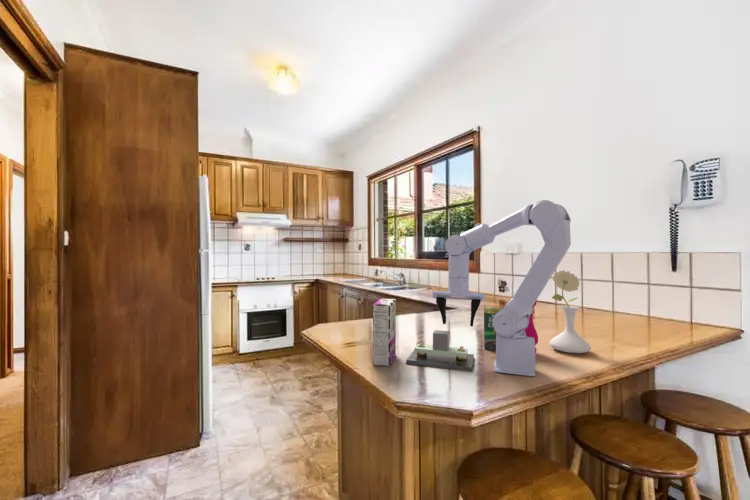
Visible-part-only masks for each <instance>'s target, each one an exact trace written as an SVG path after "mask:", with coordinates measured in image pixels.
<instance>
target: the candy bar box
mask: <svg viewBox="0 0 750 500" xmlns="http://www.w3.org/2000/svg"><path fill="white" fill-rule="evenodd" d="M396 303H397V299H396V298H380V299H378V300H377V301H375V303H373V304H372V365H373V366H375V365H376V367H391V365H392V363H393V361H394V358H395V357H396V355H397V353H396V351H397V348H396V347H397V346H396V345H397V342H396V341H397V339H396V338H397V331H396V330H397V328H396V326H397V324H396V323H397V312H396V311H397V307H396V306H397V304H396Z"/></svg>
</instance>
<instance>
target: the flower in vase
mask: <svg viewBox="0 0 750 500" xmlns="http://www.w3.org/2000/svg"><path fill="white" fill-rule="evenodd" d="M552 277H553V278H552V281H553V282H554V284H555V285H556V286H557V287H558V288H559V289H560V290H561V294H559V293H555V294H554V295H553V296H552V297H551V299H553V300H556V301H558V302H562V301H564V302H565V304H566V305H561V306H560V307H561V309H562V311H563V312H564V316H565V328H564V330H563V331H562V332H561V333H559V334H557V335H556V336H554V337H553V338H552V339H550V341H549V345H550V347H551V348H553V349H555V350H557V351H560V352H564V353H570V354H571V353H572V354H585V353H588V352H590V351H591V350H592V347H591V345H590V344H589V343H588V342H587V341H586V339H585V338H583V337H582V336H581V335H579V333H578V332H576V330H575V318H576V313H577V312H578V311H579V309H580V307H579V306H577V305H569V304H568V303H570V302H572V301H575V300H577V299H579V296H577V297H574V298H570V300H568V301H567V300H566V298H565V295H564V291H565V292H568V293H569V292H570V293H571V292H575V291H578V290H579V287H580V284H581V283H580V281H579V280H578V277H577V276H575V274H574V273H571V272H570V271H568V270H567V271H566V270H563V269H562V270H559V271H555V272H554V273H553V275H552Z"/></svg>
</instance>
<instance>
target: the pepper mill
mask: <svg viewBox="0 0 750 500" xmlns="http://www.w3.org/2000/svg"><path fill="white" fill-rule="evenodd" d="M537 301H538V300H536V302H535V303H534V305H533V307H532V313H531V314H530V317H529V324H528V326H527V328H526V329H525V333H526V336H527V337H533V338H534V340H535V346H536V345H537V344H538V343H539V336H538V335H539V334H538V332H537V330H536V327H535V325H534V319H533V318H534V314H536V313H535V310H536V309H535V306H536V305H537ZM536 355H537V347H535V356H536Z"/></svg>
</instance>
